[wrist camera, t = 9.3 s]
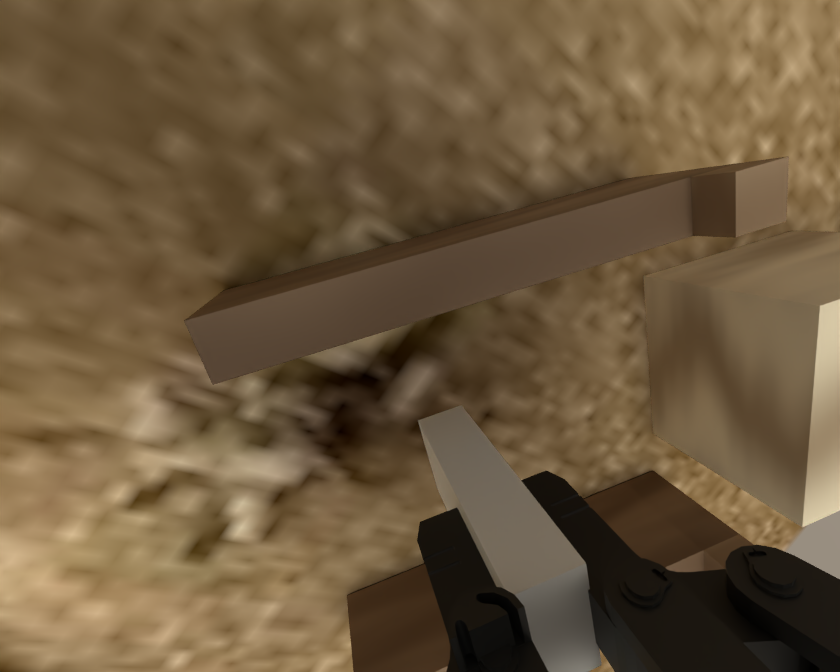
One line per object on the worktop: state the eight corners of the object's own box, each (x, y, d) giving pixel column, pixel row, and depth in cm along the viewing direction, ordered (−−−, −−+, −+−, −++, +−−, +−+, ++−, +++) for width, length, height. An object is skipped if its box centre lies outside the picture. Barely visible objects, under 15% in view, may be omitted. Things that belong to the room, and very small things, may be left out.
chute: (223, 290, 12) (164, 335, 8) (630, 178, 15) (788, 156, 10) (358, 622, 17) (375, 787, 12) (655, 497, 19) (773, 593, 14)
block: (641, 275, 16) (820, 305, 10) (788, 230, 17) (1021, 236, 11) (650, 431, 18) (802, 527, 12) (780, 383, 19) (973, 450, 14)
